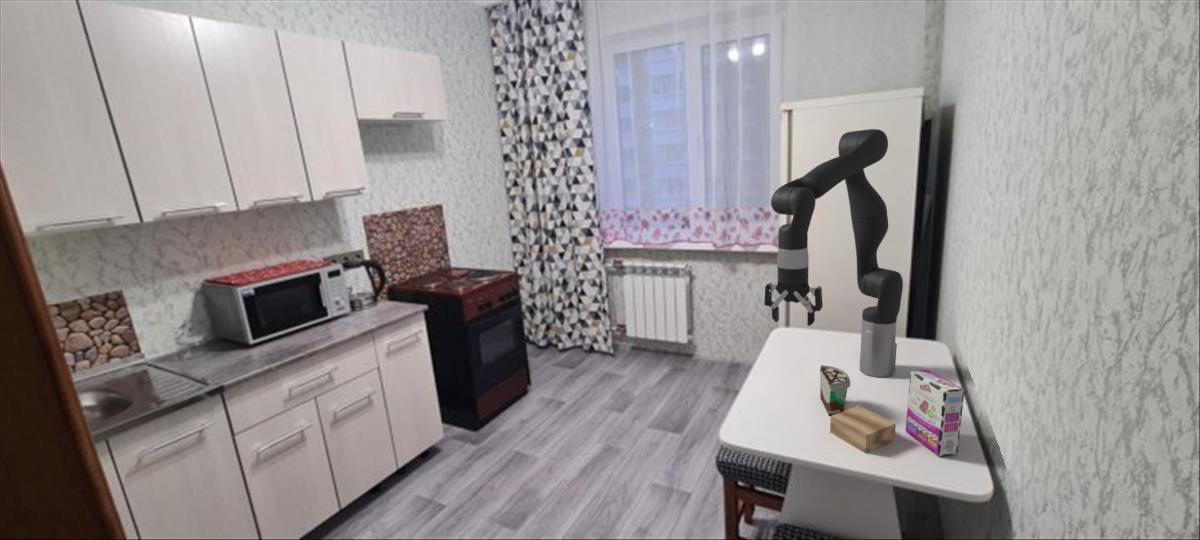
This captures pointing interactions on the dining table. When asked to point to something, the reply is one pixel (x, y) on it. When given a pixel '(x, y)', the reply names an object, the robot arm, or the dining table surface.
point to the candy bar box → (934, 412)
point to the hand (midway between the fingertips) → (792, 322)
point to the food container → (833, 389)
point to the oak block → (862, 428)
